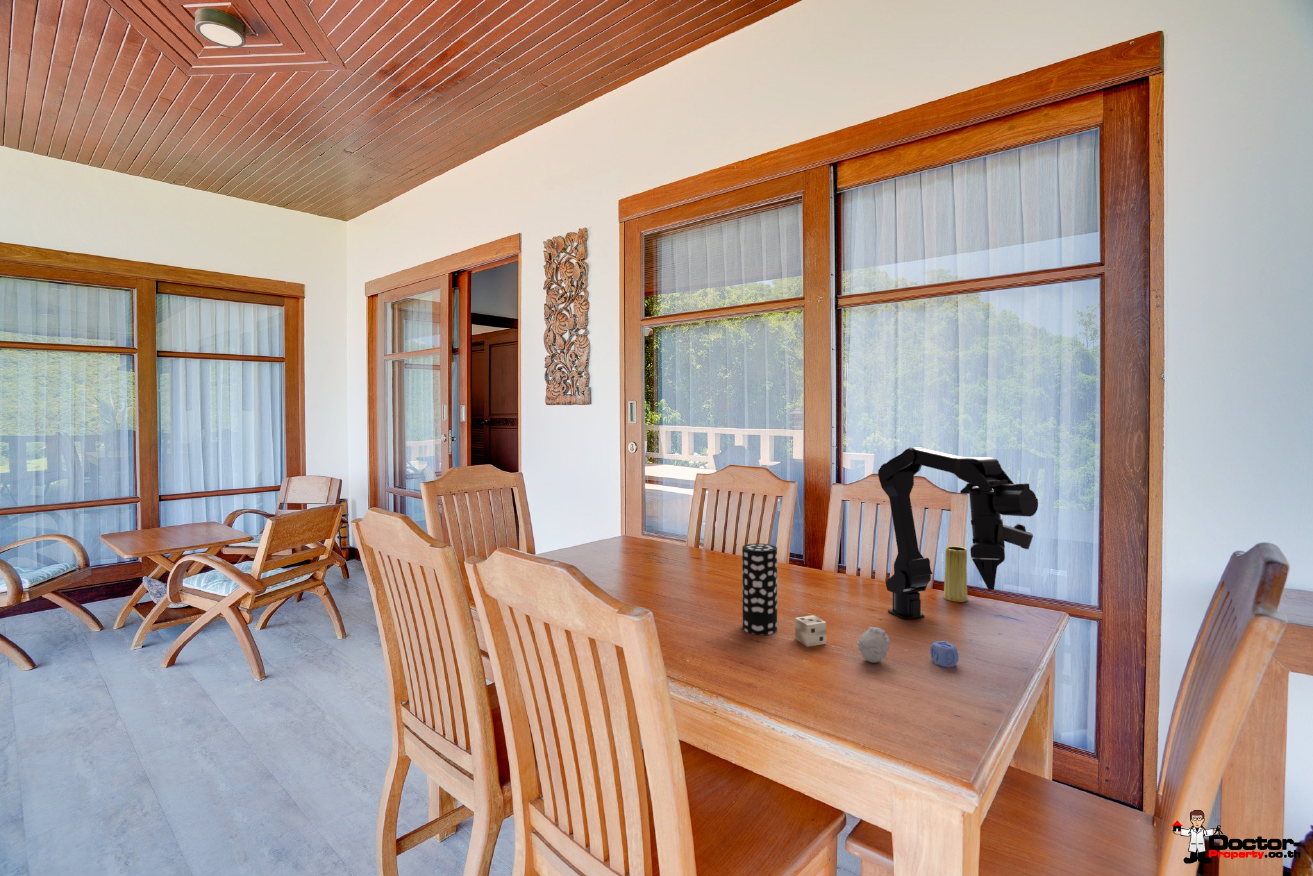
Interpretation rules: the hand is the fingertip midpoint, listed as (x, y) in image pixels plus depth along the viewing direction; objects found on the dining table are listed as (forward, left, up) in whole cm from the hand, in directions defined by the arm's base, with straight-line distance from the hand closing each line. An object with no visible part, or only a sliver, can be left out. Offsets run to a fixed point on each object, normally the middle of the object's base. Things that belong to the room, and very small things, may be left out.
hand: (991, 585), depth 128 cm
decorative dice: (+2, -15, -14) cm, 21 cm away
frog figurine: (-4, -28, -14) cm, 32 cm away
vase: (-29, +21, -14) cm, 38 cm away
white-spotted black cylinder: (-29, -41, -14) cm, 52 cm away
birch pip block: (-18, -34, -14) cm, 41 cm away
